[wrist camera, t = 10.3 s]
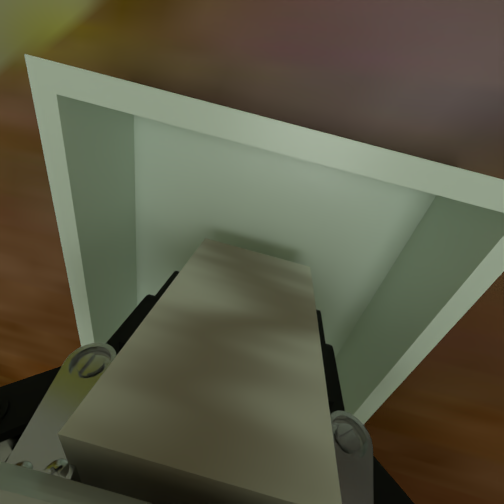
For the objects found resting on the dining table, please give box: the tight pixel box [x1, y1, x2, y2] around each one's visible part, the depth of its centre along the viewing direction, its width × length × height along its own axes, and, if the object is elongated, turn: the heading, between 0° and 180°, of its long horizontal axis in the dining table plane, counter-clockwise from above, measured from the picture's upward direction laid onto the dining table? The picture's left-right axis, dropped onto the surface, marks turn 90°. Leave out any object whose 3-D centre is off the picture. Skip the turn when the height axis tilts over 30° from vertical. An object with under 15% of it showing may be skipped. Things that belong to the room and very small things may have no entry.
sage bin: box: [24, 54, 504, 424], centre depth 13 cm, size 16×16×5 cm
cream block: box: [58, 238, 342, 504], centre depth 9 cm, size 5×5×8 cm
